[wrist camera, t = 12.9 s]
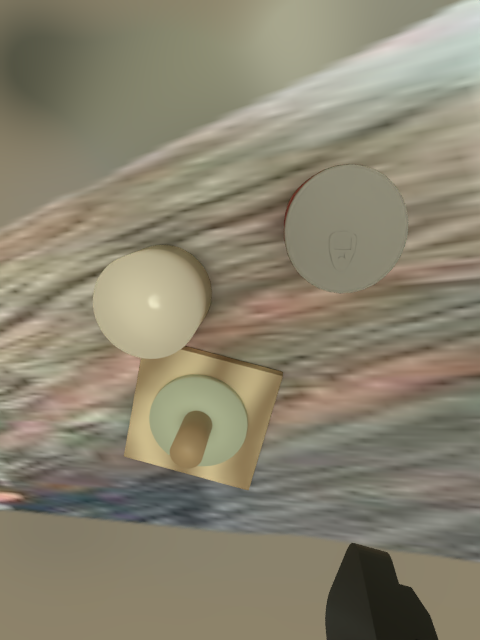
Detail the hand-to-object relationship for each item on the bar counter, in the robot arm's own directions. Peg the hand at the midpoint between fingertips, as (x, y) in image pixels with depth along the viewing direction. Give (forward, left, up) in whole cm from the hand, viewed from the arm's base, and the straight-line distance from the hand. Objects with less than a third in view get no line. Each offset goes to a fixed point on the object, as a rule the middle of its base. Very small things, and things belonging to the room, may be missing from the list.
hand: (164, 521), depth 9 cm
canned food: (-5, -6, -30) cm, 31 cm away
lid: (+2, +16, -29) cm, 33 cm away
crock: (+8, +4, -30) cm, 31 cm away
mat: (+2, +16, -30) cm, 34 cm away
